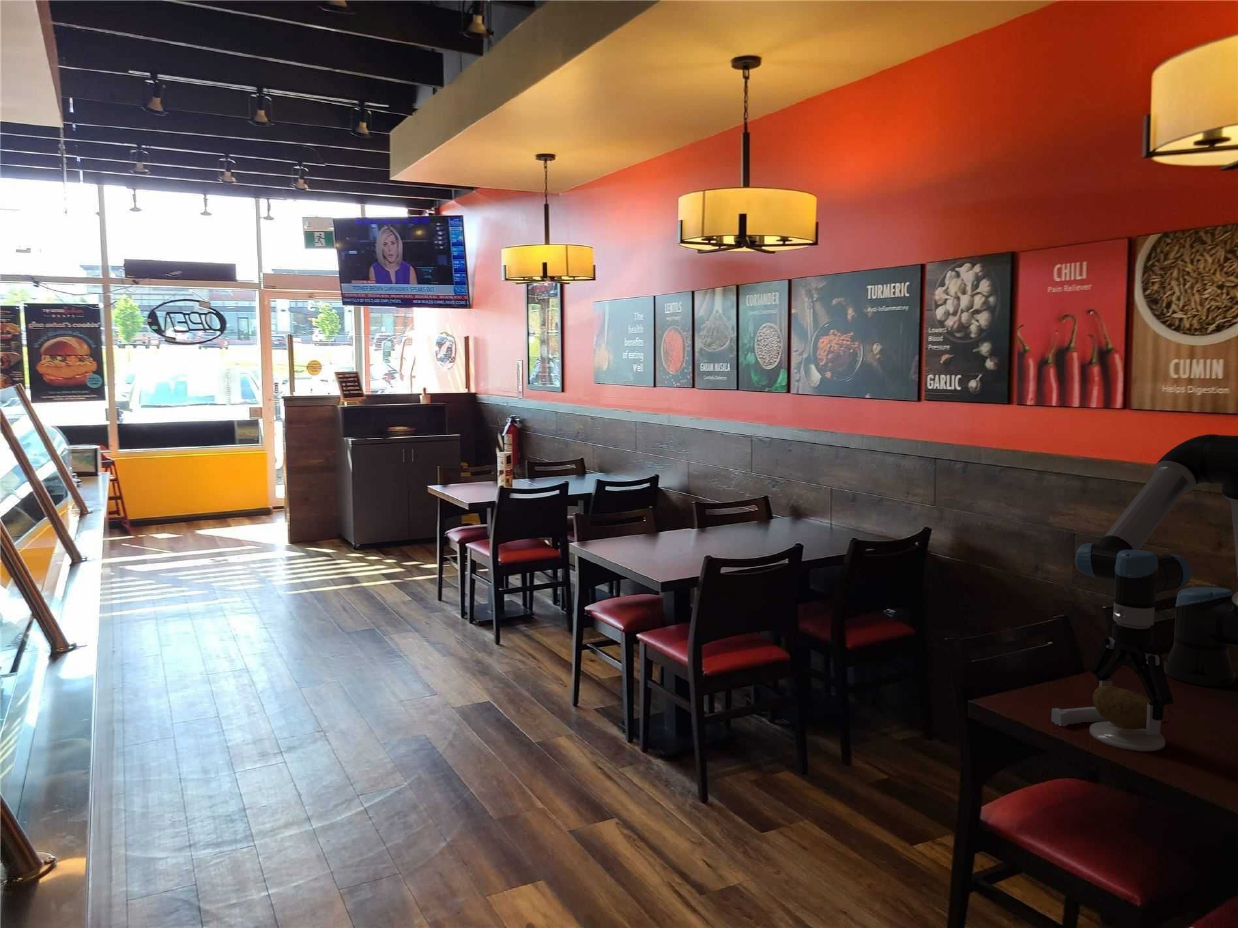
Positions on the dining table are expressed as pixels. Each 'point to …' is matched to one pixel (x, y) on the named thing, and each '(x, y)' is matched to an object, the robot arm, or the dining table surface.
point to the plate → (1126, 737)
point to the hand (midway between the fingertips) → (1127, 721)
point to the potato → (1122, 707)
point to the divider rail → (1075, 715)
